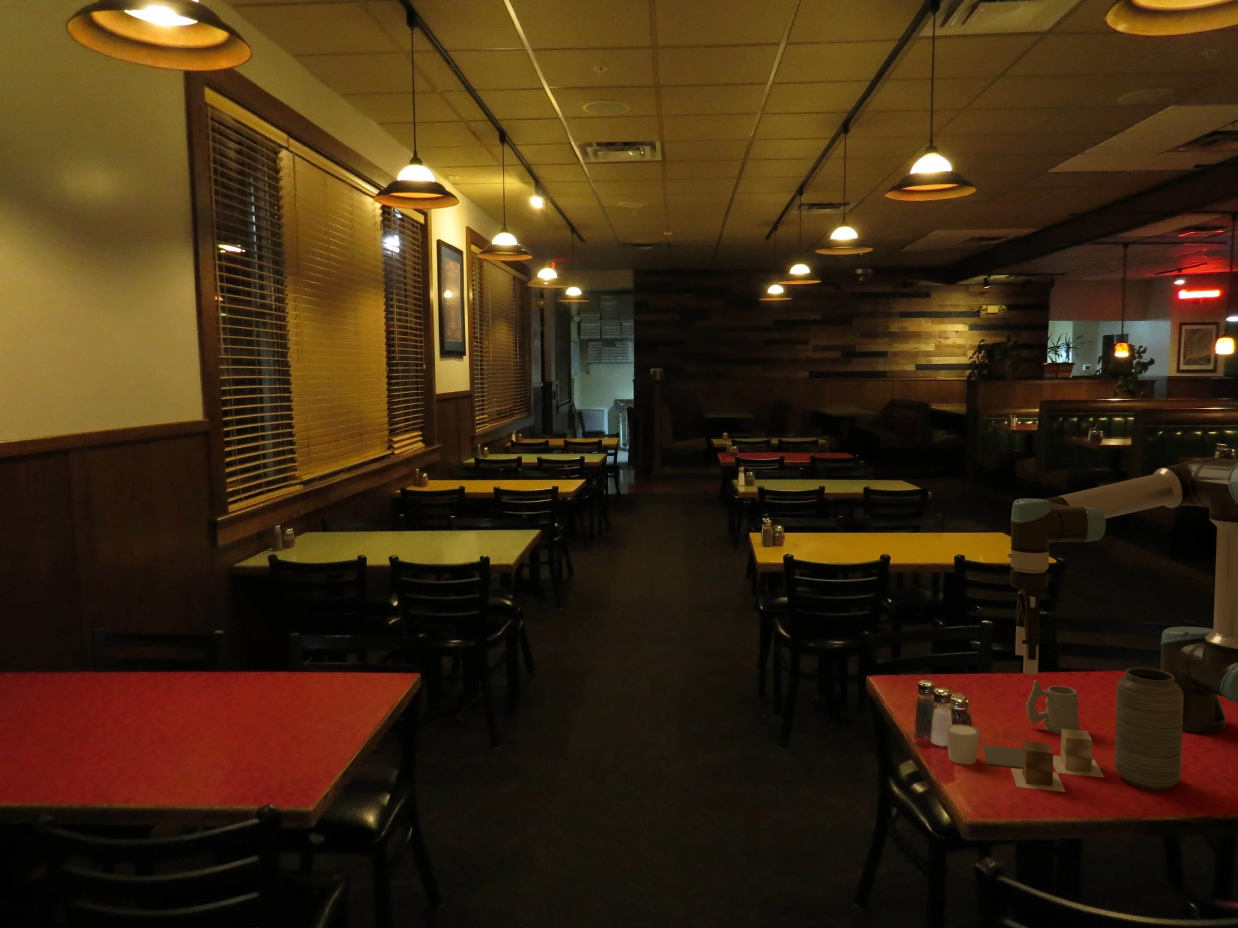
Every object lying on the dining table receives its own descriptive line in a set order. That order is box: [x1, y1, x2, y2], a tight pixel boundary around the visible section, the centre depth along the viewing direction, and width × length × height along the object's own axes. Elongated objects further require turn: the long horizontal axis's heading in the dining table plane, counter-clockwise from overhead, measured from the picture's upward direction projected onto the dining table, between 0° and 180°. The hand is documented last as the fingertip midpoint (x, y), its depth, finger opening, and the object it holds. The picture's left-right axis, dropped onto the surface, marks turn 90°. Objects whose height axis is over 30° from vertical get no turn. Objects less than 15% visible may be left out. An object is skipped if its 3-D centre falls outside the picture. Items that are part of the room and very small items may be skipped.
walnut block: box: [1021, 740, 1054, 786], centre depth 178 cm, size 5×5×7 cm
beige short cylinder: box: [945, 723, 980, 765], centre depth 189 cm, size 7×7×7 cm
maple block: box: [1060, 729, 1093, 772], centre depth 184 cm, size 5×5×7 cm
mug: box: [1025, 679, 1081, 735], centre depth 204 cm, size 8×12×12 cm, turn 80°
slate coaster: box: [982, 744, 1023, 769], centre depth 189 cm, size 10×10×1 cm
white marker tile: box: [1010, 767, 1066, 793], centre depth 178 cm, size 9×9×1 cm
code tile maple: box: [1053, 755, 1105, 778], centre depth 184 cm, size 9×9×1 cm
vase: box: [1114, 667, 1183, 792], centre depth 176 cm, size 12×12×23 cm
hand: (1026, 663), depth 189 cm, fingers open, 13 cm apart
